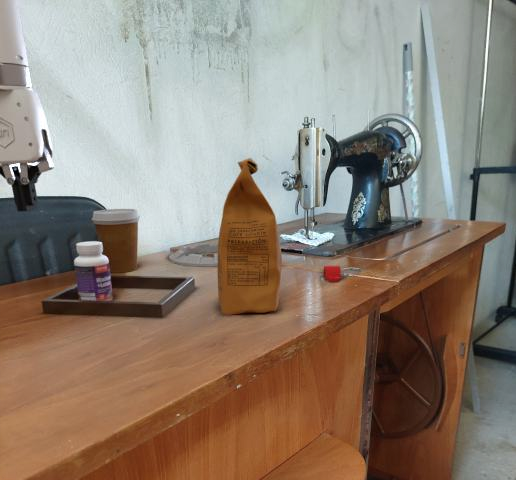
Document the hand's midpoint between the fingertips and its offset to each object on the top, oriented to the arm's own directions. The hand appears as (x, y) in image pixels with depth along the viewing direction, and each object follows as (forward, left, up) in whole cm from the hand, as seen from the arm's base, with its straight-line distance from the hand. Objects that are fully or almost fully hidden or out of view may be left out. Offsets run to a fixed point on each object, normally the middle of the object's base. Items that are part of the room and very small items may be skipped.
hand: (28, 210), depth 82 cm
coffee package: (+36, 0, -15) cm, 39 cm away
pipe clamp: (+48, +21, -15) cm, 54 cm away
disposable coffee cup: (+4, +24, -15) cm, 29 cm away
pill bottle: (+10, 0, -15) cm, 18 cm away
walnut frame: (+15, 0, -15) cm, 21 cm away
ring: (+20, +38, -15) cm, 45 cm away
